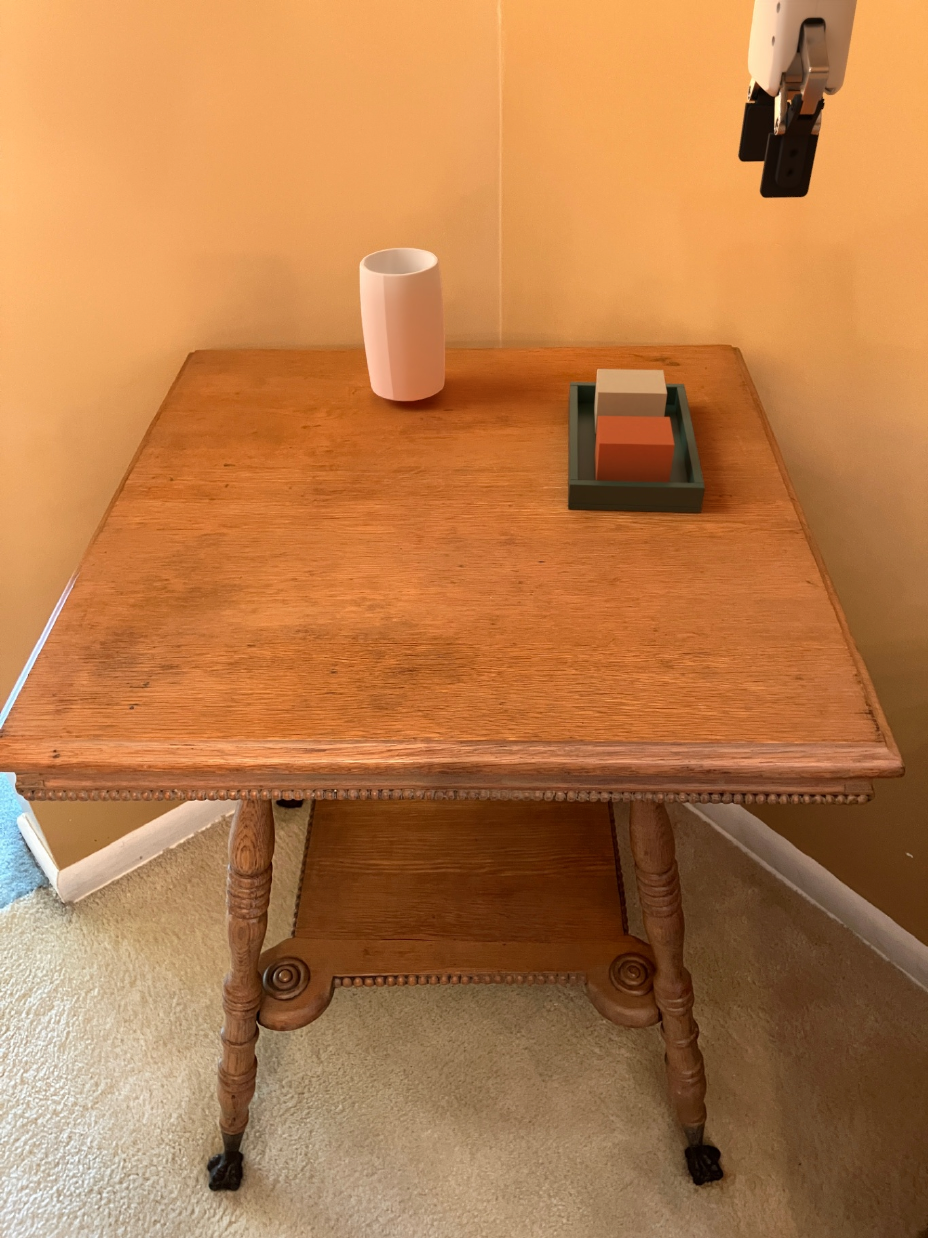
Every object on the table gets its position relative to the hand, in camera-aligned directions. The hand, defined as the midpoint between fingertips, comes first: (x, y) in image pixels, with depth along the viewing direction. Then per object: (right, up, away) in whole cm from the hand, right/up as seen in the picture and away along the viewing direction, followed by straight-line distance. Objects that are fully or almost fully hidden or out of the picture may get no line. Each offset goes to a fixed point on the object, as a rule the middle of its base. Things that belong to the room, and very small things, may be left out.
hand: (770, 177), depth 68 cm
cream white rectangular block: (-6, -13, +24) cm, 28 cm away
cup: (-29, -9, +31) cm, 43 cm away
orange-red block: (-7, -19, +17) cm, 27 cm away
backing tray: (-7, -17, +20) cm, 27 cm away
